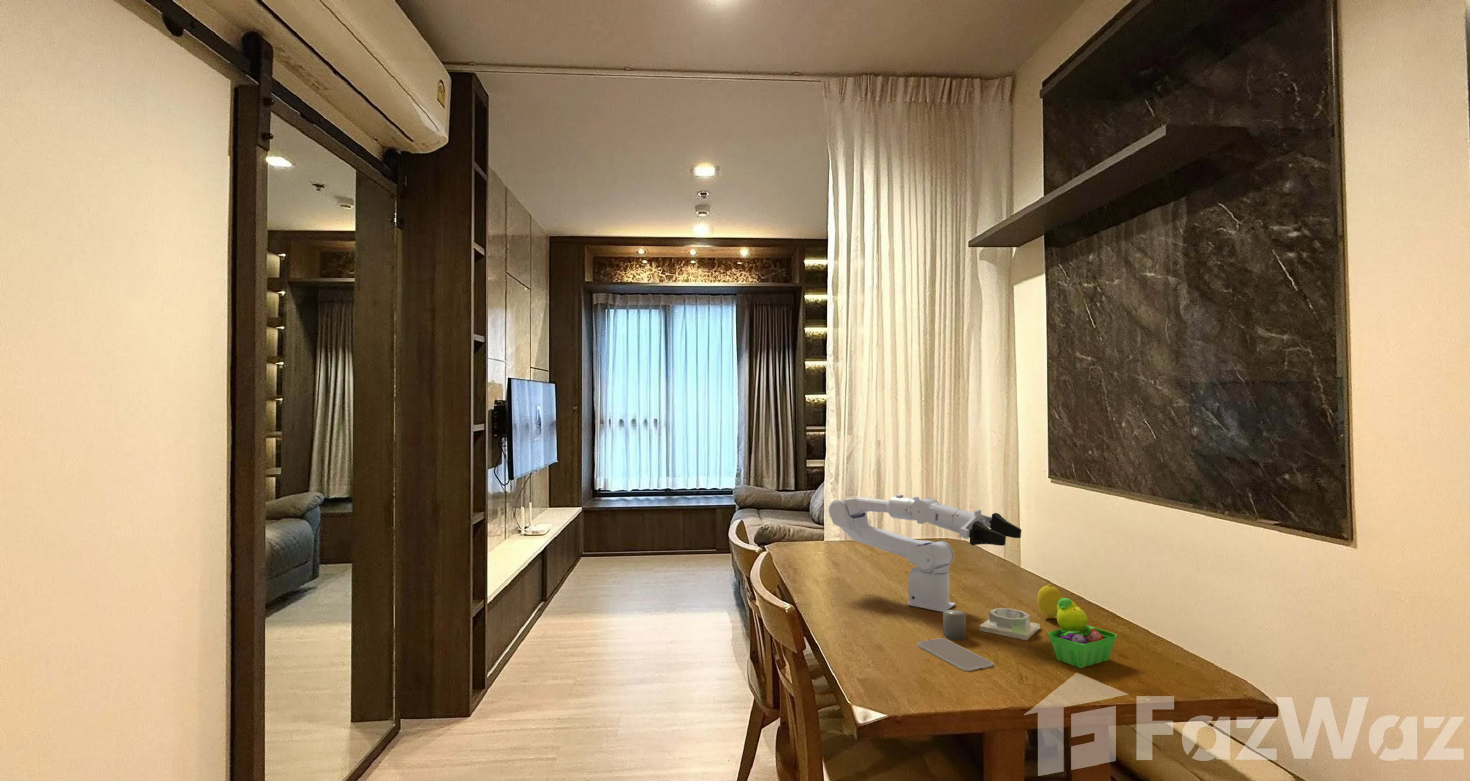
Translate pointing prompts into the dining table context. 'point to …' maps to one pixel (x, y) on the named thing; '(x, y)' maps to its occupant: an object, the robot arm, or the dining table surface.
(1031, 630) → the octagonal socket plate
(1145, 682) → the dining table surface
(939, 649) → the smartphone
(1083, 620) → the fruit basket
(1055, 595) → the lemon
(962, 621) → the cylindrical peg
